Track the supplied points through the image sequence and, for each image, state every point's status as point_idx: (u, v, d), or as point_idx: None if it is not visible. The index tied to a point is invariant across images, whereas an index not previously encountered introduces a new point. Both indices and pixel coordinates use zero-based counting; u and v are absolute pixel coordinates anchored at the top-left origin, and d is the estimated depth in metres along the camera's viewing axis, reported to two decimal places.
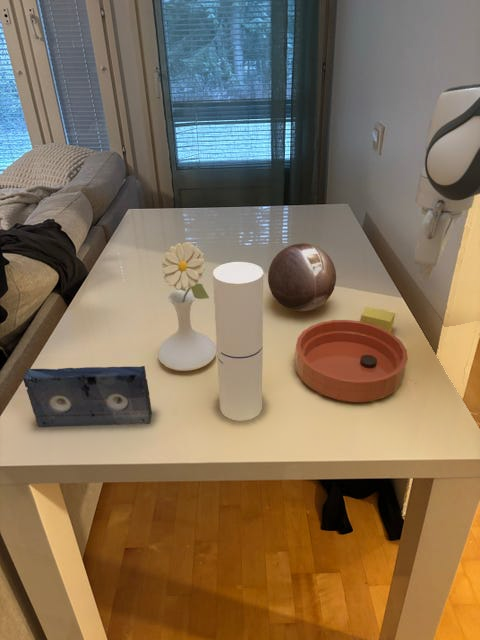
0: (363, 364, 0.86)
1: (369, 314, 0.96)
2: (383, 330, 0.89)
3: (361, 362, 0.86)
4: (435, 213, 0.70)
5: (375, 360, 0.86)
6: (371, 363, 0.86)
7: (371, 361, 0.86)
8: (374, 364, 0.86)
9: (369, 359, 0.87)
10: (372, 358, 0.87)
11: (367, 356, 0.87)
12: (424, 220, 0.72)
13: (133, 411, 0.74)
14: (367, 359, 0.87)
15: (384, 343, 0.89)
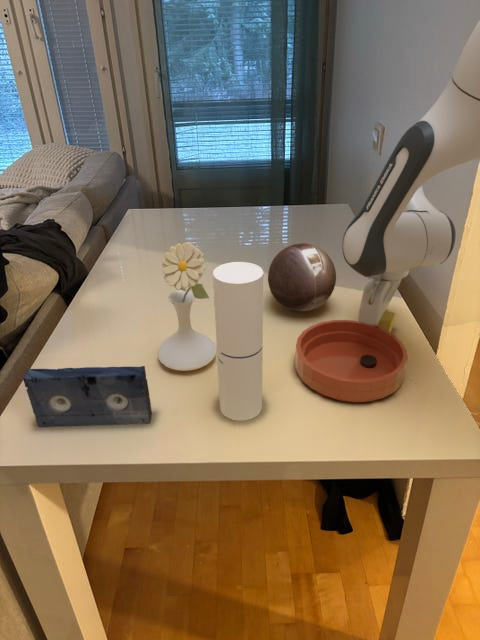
0: (363, 364, 0.86)
1: None
2: (383, 330, 0.89)
3: (361, 362, 0.86)
4: (373, 284, 0.84)
5: (375, 360, 0.86)
6: (371, 363, 0.86)
7: (371, 361, 0.86)
8: (374, 364, 0.86)
9: (369, 359, 0.87)
10: (372, 358, 0.87)
11: (367, 356, 0.87)
12: (365, 288, 0.86)
13: (133, 411, 0.74)
14: (367, 359, 0.87)
15: (384, 343, 0.89)
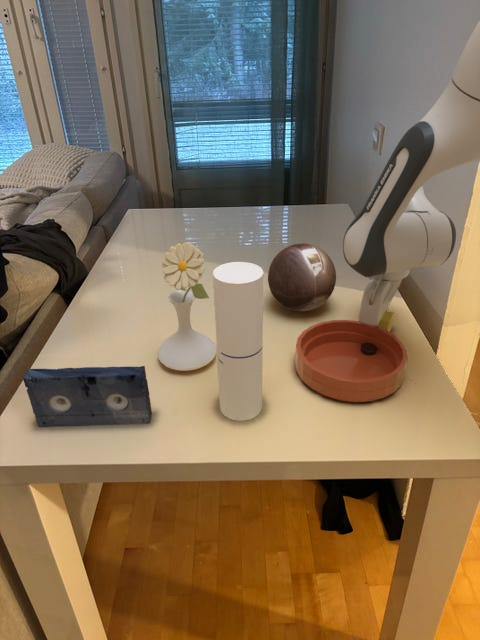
0: (362, 350, 0.90)
1: None
2: (383, 330, 0.89)
3: (361, 348, 0.90)
4: (373, 284, 0.84)
5: (374, 348, 0.89)
6: (369, 350, 0.89)
7: (370, 349, 0.89)
8: (372, 352, 0.89)
9: (369, 347, 0.90)
10: (372, 346, 0.90)
11: (368, 344, 0.91)
12: (366, 289, 0.86)
13: (133, 411, 0.74)
14: (367, 346, 0.90)
15: (384, 343, 0.89)
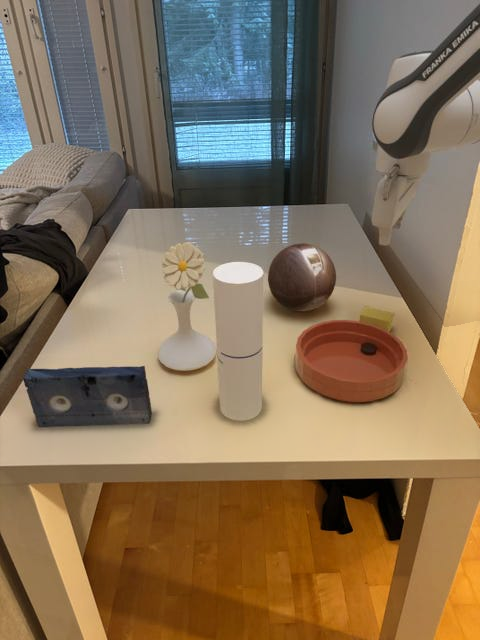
0: (362, 350, 0.90)
1: (367, 314, 0.96)
2: (383, 330, 0.89)
3: (361, 348, 0.90)
4: (389, 175, 0.74)
5: (374, 348, 0.89)
6: (369, 350, 0.89)
7: (370, 349, 0.89)
8: (372, 352, 0.89)
9: (369, 347, 0.90)
10: (372, 346, 0.90)
11: (368, 344, 0.91)
12: (380, 182, 0.76)
13: (133, 411, 0.74)
14: (367, 346, 0.90)
15: (384, 343, 0.89)
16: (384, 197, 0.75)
